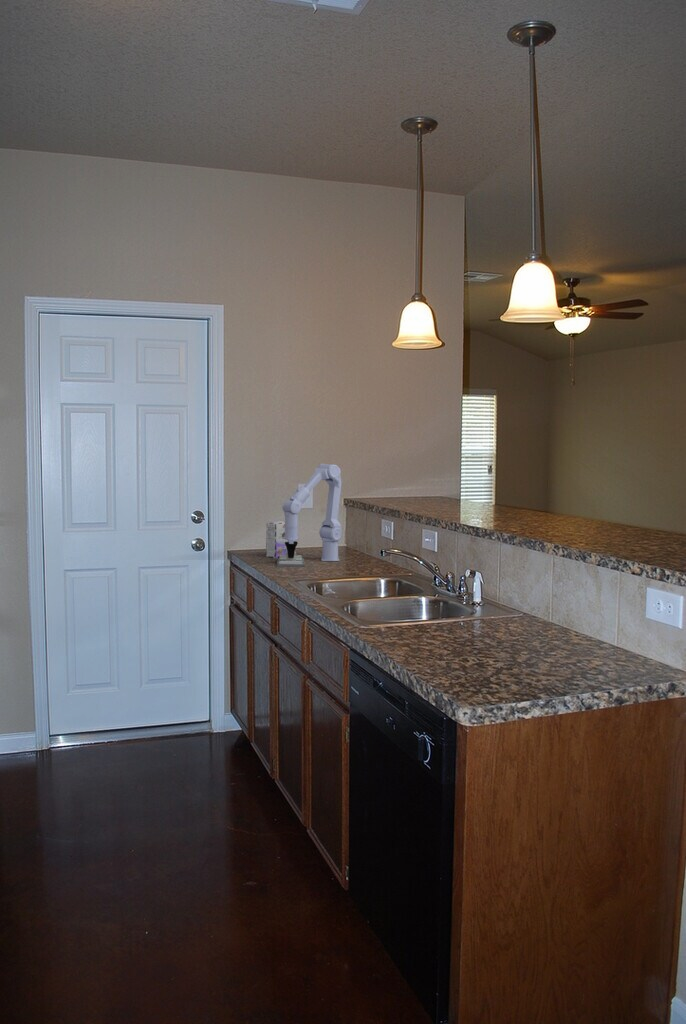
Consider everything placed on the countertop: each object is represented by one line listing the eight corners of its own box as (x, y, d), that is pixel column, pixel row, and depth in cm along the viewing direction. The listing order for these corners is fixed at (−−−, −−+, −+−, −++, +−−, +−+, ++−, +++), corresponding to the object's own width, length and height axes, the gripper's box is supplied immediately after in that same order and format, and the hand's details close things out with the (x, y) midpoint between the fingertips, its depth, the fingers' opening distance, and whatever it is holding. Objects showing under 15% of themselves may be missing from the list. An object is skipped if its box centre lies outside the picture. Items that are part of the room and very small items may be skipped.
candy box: (284, 554, 381) (285, 519, 380) (294, 555, 378) (294, 520, 376) (265, 557, 370) (266, 521, 369) (275, 558, 367) (275, 522, 365)
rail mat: (277, 559, 362) (277, 555, 362) (303, 560, 363) (304, 555, 363) (276, 566, 344) (277, 561, 344) (304, 566, 345) (304, 561, 345)
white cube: (285, 559, 356) (286, 549, 356) (295, 559, 357) (295, 549, 356) (285, 560, 352) (286, 550, 352) (295, 560, 352) (295, 550, 352)
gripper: (282, 525, 356) (281, 555, 358) (282, 529, 342) (281, 560, 343) (298, 525, 357) (297, 555, 358) (298, 529, 343) (298, 560, 344)
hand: (290, 558), depth 351 cm, fingers closed
